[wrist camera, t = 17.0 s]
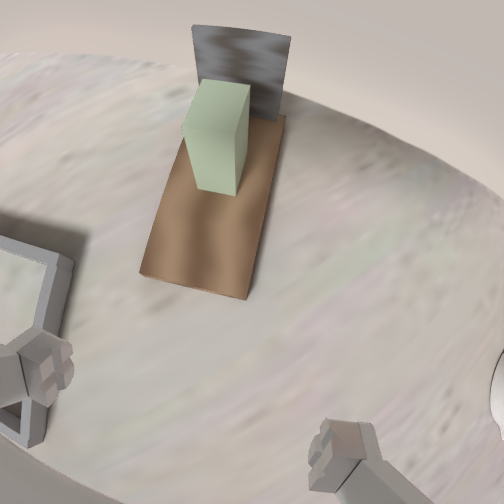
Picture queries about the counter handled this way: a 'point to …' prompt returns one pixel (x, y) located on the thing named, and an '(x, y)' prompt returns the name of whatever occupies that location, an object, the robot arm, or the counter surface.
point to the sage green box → (218, 134)
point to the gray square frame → (46, 318)
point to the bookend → (251, 182)
